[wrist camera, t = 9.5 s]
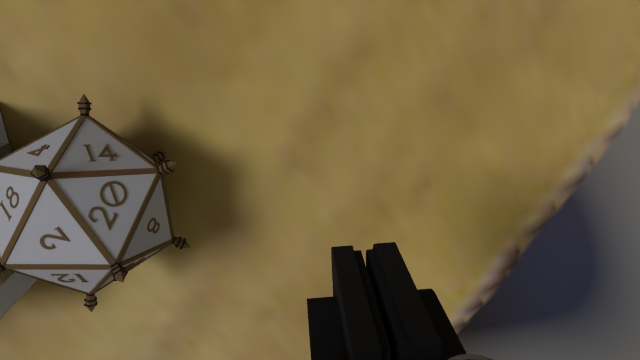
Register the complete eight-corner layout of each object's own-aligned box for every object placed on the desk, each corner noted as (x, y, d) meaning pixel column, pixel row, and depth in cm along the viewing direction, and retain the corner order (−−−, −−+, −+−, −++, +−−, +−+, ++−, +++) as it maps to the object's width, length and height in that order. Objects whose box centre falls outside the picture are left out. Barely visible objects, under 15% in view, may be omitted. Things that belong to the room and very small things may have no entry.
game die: (120, 129, 28) (41, 20, 18) (234, 212, 27) (212, 142, 17) (0, 251, 25) (-166, 196, 15) (123, 348, 24) (24, 353, 14)
